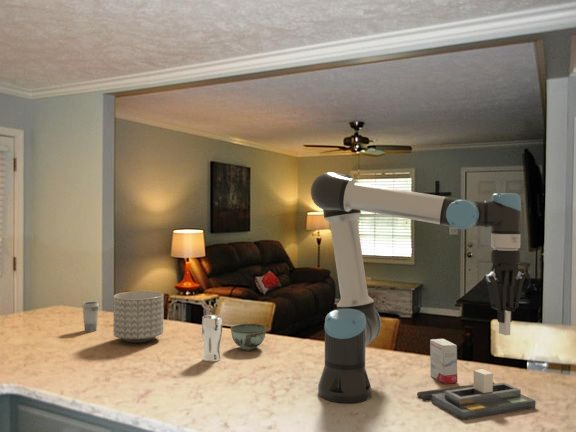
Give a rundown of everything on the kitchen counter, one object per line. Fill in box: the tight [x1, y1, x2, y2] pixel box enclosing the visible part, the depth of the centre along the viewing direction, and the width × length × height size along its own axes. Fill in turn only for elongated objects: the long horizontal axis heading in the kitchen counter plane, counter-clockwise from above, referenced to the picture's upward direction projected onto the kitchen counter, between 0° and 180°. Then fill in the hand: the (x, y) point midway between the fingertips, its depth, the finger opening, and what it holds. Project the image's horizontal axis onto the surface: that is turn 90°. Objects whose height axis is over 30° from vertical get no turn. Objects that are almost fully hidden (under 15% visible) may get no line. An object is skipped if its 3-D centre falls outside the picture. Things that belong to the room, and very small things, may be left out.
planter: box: [113, 290, 165, 344], centre depth 204 cm, size 19×19×18 cm
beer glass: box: [201, 314, 223, 363], centre depth 180 cm, size 7×7×15 cm
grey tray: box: [430, 382, 536, 421], centre depth 141 cm, size 24×13×4 cm, turn 111°
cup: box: [81, 300, 100, 333], centre depth 219 cm, size 7×7×12 cm
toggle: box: [473, 368, 494, 395], centre depth 141 cm, size 4×4×7 cm
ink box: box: [429, 338, 458, 385], centre depth 161 cm, size 9×5×12 cm, turn 13°
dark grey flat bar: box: [416, 381, 496, 401], centre depth 150 cm, size 27×4×1 cm, turn 111°
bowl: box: [229, 323, 267, 352], centre depth 194 cm, size 14×13×8 cm
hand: (504, 333), depth 143 cm, fingers closed
